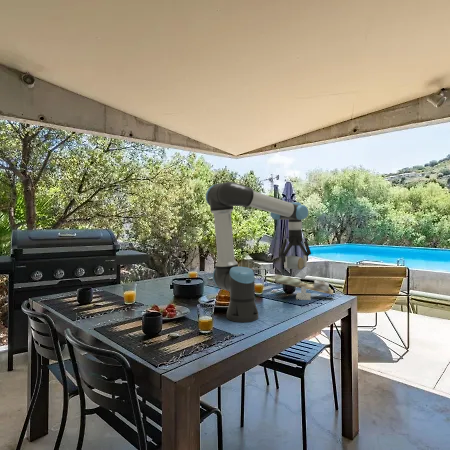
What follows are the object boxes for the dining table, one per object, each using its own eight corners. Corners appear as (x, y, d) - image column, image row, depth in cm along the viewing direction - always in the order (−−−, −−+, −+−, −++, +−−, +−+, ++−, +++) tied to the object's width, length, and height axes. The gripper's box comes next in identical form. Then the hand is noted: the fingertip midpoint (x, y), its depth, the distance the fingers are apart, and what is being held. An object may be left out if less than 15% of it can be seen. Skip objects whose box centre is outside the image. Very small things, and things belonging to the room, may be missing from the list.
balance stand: (296, 299, 190) (295, 286, 190) (297, 294, 201) (297, 282, 201) (310, 300, 188) (310, 287, 187) (310, 295, 199) (310, 283, 199)
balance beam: (274, 283, 191) (275, 275, 191) (277, 278, 206) (278, 271, 205) (333, 296, 183) (334, 288, 182) (332, 290, 197) (333, 282, 197)
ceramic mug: (298, 270, 184) (299, 256, 184) (285, 269, 190) (285, 255, 189) (307, 268, 193) (307, 255, 193) (294, 267, 198) (294, 254, 198)
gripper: (311, 228, 196) (311, 265, 196) (273, 229, 191) (273, 267, 192) (317, 229, 188) (317, 267, 189) (277, 230, 184) (278, 269, 185)
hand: (295, 267), depth 191 cm, fingers closed on ceramic mug, 11 cm apart
